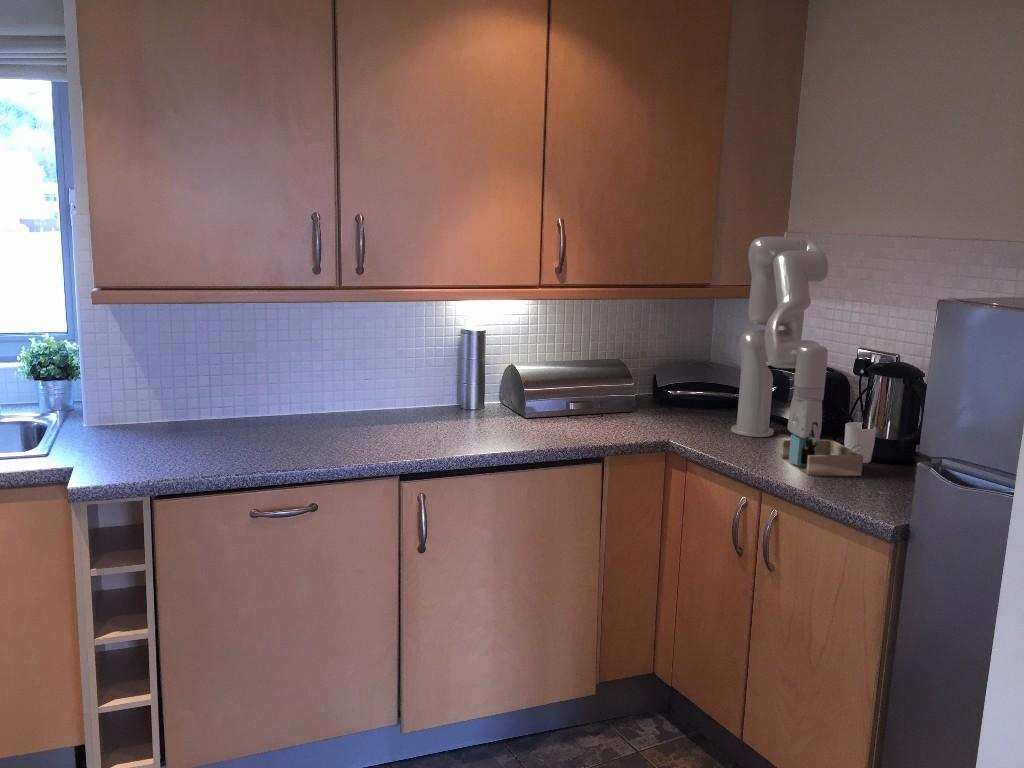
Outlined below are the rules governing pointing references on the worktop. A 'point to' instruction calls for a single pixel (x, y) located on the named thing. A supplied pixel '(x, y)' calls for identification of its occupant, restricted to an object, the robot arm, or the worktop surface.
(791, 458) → the teal block
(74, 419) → the worktop surface
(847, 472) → the birch box
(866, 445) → the white cup
